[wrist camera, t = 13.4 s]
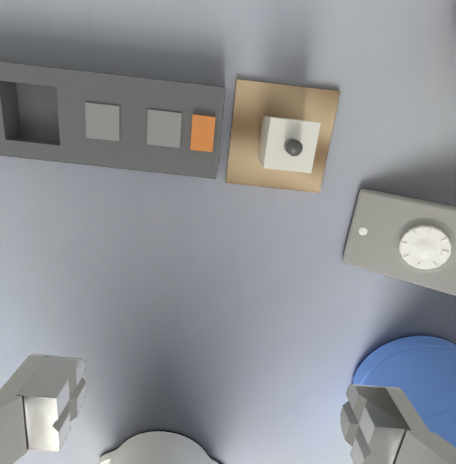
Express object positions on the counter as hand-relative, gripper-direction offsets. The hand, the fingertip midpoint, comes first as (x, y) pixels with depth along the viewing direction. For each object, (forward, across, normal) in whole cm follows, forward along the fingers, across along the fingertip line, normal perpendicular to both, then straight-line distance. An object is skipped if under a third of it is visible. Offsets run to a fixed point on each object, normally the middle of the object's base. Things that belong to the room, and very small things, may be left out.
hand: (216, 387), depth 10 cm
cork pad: (+27, +5, +7) cm, 28 cm away
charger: (+27, +5, +7) cm, 28 cm away
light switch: (+28, +21, -2) cm, 34 cm away
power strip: (+27, -15, +7) cm, 32 cm away
